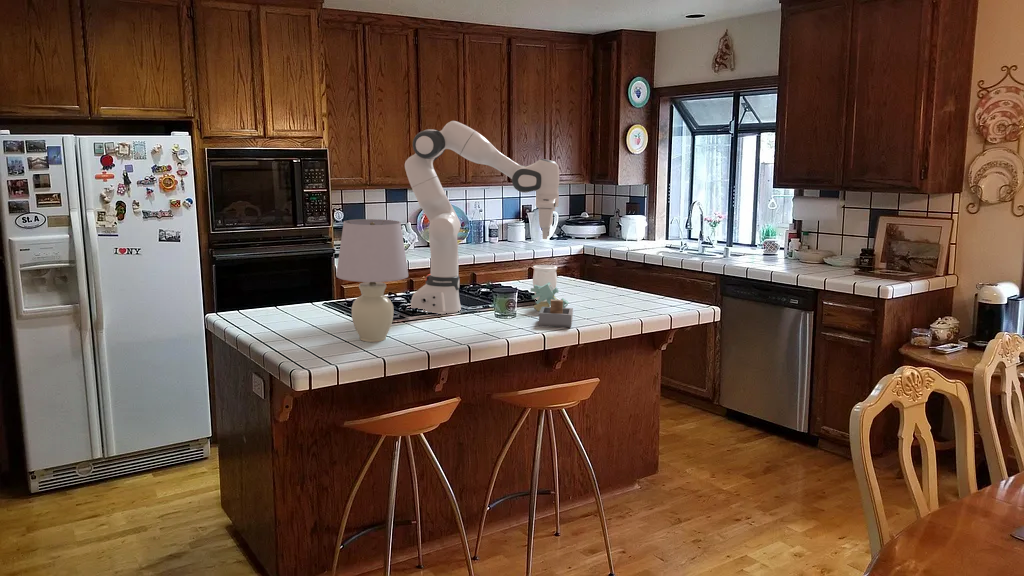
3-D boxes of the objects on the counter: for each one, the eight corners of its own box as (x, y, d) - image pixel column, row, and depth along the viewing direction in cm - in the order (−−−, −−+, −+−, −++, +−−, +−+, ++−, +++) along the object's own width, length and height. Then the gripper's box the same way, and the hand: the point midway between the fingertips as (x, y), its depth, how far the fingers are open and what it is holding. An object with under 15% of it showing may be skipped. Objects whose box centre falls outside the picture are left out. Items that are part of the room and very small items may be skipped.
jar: (533, 297, 345) (534, 263, 343) (556, 298, 344) (558, 265, 341) (530, 302, 335) (531, 267, 332) (554, 303, 334) (556, 268, 331)
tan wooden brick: (549, 321, 296) (550, 300, 294) (550, 319, 298) (551, 299, 297) (561, 322, 295) (562, 301, 294) (562, 320, 297) (563, 300, 296)
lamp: (326, 335, 269) (324, 219, 262) (389, 327, 283) (388, 217, 275) (354, 351, 250) (353, 227, 243) (420, 342, 264) (421, 224, 256)
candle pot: (538, 326, 292) (539, 313, 291) (541, 319, 303) (541, 306, 302) (570, 328, 290) (571, 314, 289) (572, 320, 302) (572, 308, 301)
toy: (571, 311, 315) (555, 279, 311) (541, 323, 318) (524, 292, 314) (571, 301, 324) (556, 270, 320) (542, 313, 328) (527, 283, 323)
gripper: (541, 199, 312) (540, 234, 315) (536, 203, 292) (535, 240, 295) (556, 200, 312) (555, 234, 314) (553, 204, 292) (552, 240, 294)
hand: (545, 237), depth 304 cm, fingers open, 8 cm apart
